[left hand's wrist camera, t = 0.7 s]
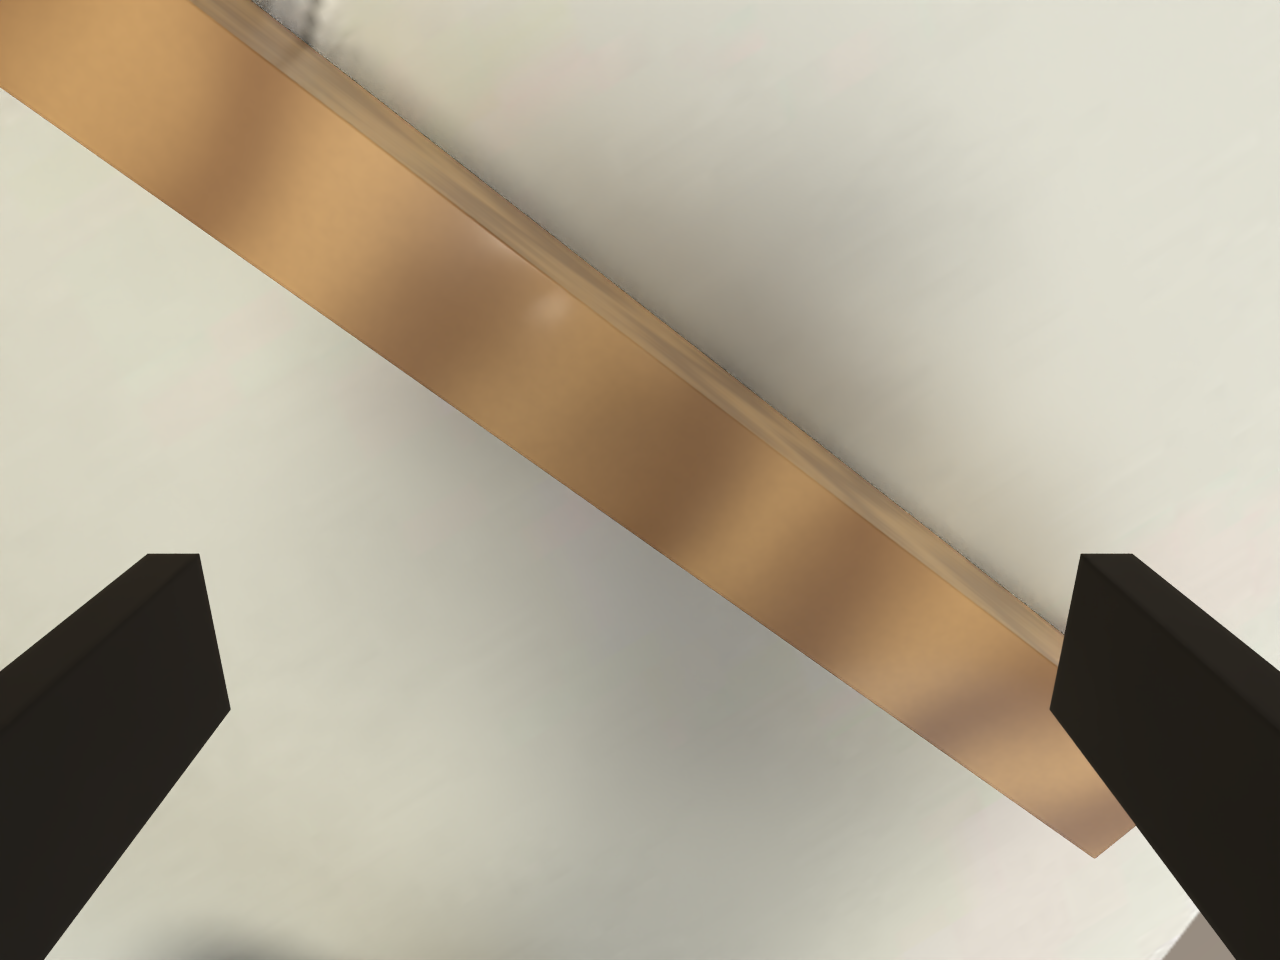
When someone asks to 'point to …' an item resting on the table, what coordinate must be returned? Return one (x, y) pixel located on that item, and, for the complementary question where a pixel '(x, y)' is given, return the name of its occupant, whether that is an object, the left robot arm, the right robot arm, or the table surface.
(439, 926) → the table surface
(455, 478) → the table surface
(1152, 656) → the left robot arm
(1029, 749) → the beam
